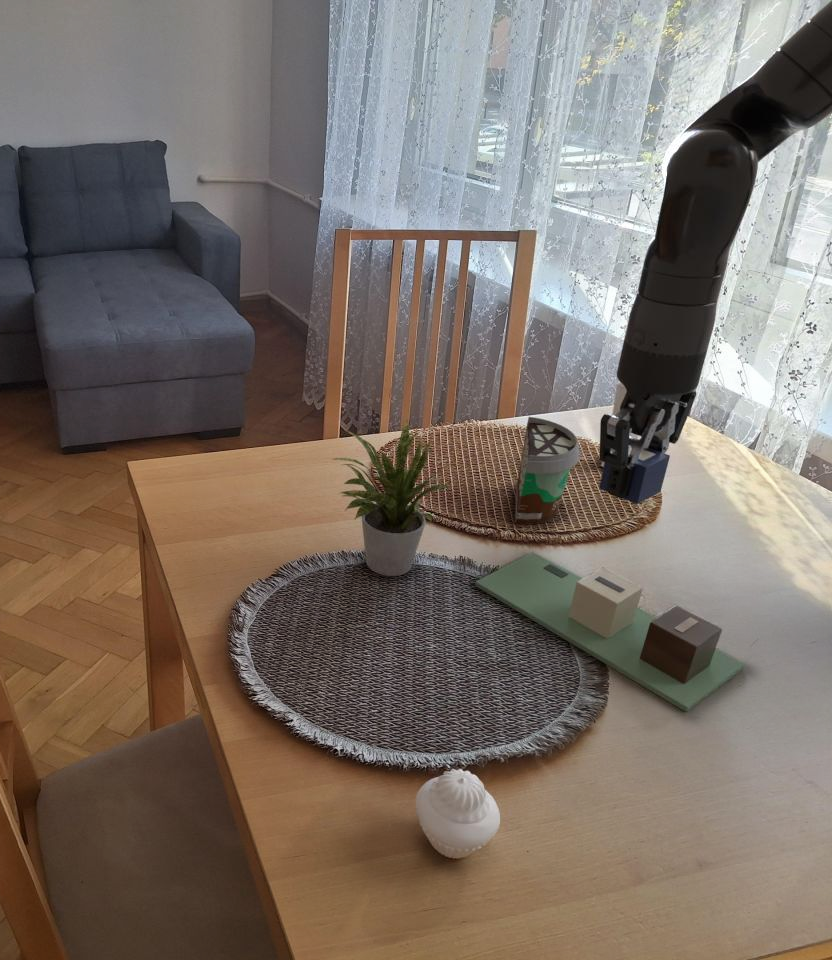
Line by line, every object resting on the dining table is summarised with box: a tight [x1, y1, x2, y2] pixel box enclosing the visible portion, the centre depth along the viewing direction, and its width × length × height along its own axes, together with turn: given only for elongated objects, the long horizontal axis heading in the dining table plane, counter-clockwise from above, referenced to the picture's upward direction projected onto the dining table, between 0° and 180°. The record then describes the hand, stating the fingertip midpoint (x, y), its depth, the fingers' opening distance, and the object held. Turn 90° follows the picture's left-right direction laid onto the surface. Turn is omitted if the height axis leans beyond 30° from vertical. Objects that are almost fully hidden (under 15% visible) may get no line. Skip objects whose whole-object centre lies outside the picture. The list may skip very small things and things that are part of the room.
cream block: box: [569, 566, 644, 639], centre depth 88 cm, size 4×4×5 cm
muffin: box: [414, 768, 501, 860], centre depth 65 cm, size 6×6×7 cm
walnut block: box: [640, 605, 723, 684], centre depth 82 cm, size 4×4×5 cm
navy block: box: [598, 445, 671, 505], centre depth 93 cm, size 4×4×5 cm
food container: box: [514, 416, 580, 525], centre depth 107 cm, size 12×6×10 cm, turn 161°
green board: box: [474, 551, 745, 713], centre depth 89 cm, size 10×24×1 cm, turn 34°
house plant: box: [332, 419, 453, 577], centre depth 97 cm, size 14×14×16 cm
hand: (630, 487), depth 94 cm, fingers closed on navy block, 4 cm apart
